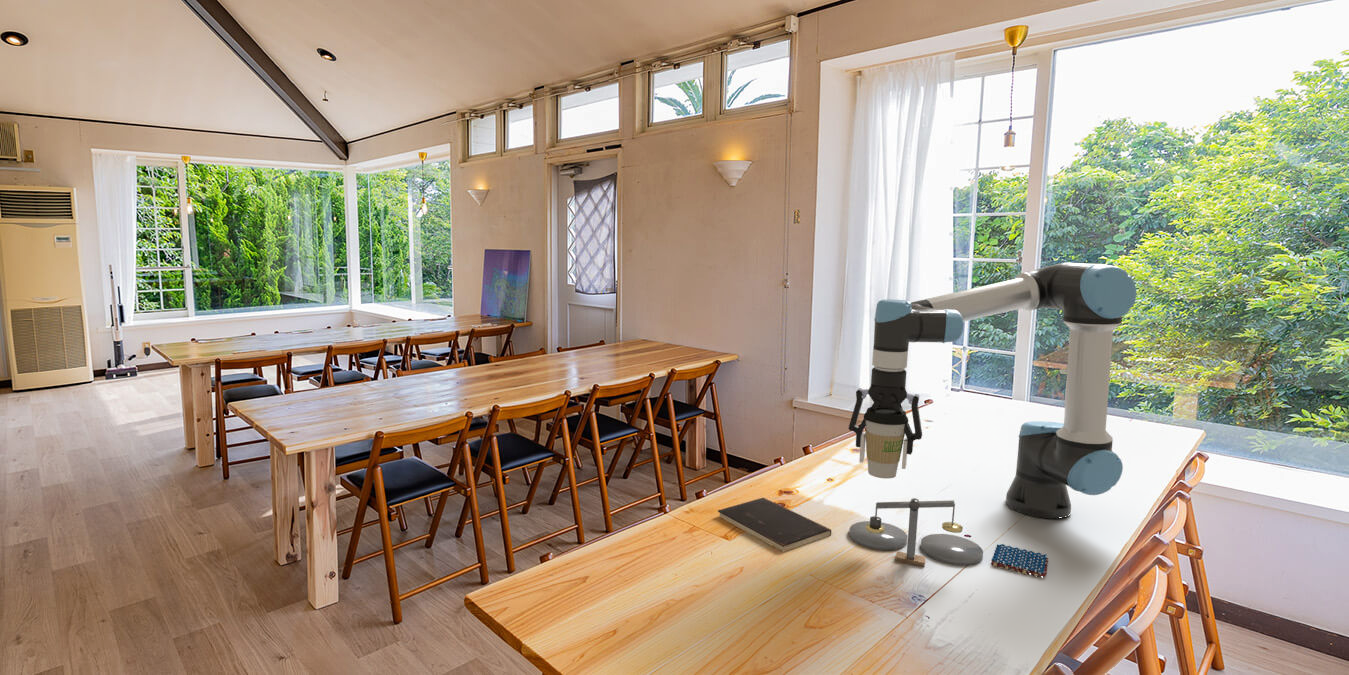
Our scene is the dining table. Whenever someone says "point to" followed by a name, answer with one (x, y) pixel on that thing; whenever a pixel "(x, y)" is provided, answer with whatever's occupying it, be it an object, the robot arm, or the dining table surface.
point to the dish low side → (878, 536)
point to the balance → (912, 526)
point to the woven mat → (1020, 560)
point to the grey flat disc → (951, 549)
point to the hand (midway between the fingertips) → (882, 463)
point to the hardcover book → (774, 523)
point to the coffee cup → (884, 441)
